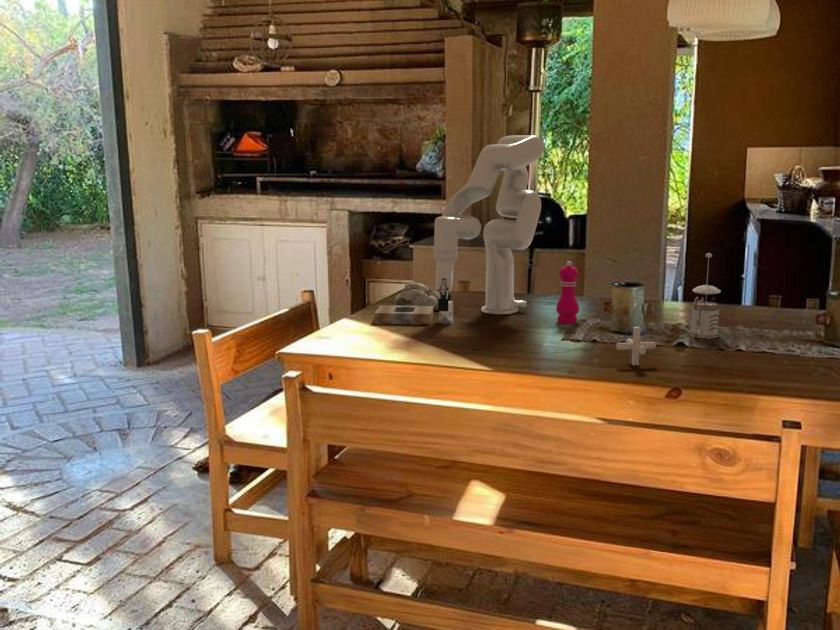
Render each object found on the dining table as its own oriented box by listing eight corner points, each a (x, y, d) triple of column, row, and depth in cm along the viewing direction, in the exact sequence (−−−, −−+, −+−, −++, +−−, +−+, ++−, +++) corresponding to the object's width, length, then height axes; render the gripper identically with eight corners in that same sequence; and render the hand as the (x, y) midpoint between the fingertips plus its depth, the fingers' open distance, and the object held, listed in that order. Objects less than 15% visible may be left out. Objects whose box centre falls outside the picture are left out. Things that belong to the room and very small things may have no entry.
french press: (726, 335, 250) (732, 252, 245) (709, 341, 242) (715, 256, 237) (695, 330, 257) (700, 249, 252) (678, 336, 248) (683, 253, 243)
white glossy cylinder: (453, 321, 271) (453, 300, 269) (452, 324, 266) (452, 303, 265) (440, 321, 271) (440, 300, 270) (438, 324, 267) (438, 303, 265)
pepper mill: (553, 323, 267) (555, 262, 263) (558, 319, 273) (560, 259, 269) (575, 325, 264) (578, 263, 260) (580, 320, 271) (582, 260, 267)
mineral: (438, 307, 282) (443, 279, 285) (389, 302, 286) (394, 275, 288) (444, 317, 294) (447, 291, 297) (396, 313, 297) (401, 287, 300)
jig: (433, 316, 279) (433, 306, 278) (430, 324, 266) (430, 313, 266) (380, 315, 281) (380, 305, 280) (374, 323, 268) (374, 313, 267)
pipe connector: (610, 360, 222) (612, 323, 220) (646, 359, 223) (648, 322, 221) (622, 370, 212) (624, 332, 210) (660, 369, 213) (662, 331, 211)
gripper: (436, 252, 273) (434, 303, 276) (431, 258, 256) (430, 312, 259) (458, 253, 272) (457, 304, 275) (455, 259, 255) (454, 313, 258)
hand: (444, 308), depth 267 cm, fingers open, 9 cm apart
